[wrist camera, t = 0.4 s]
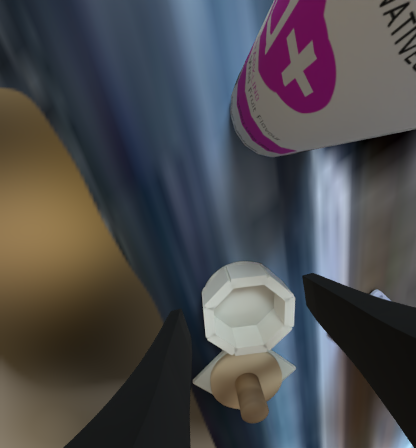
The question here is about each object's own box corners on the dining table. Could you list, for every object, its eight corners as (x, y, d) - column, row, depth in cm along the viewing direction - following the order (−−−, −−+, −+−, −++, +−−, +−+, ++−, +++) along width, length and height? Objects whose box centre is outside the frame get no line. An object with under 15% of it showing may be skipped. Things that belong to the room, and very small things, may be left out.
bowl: (294, 289, 23) (312, 310, 19) (242, 340, 24) (251, 367, 21) (239, 244, 21) (248, 258, 17) (186, 302, 22) (185, 325, 19)
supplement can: (227, 156, 18) (362, 89, 4) (231, 52, 16) (577, -1021, 2) (309, 159, 19) (699, 109, 4) (323, 59, 17) (1155, -667, 2)
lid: (293, 369, 25) (312, 404, 21) (246, 411, 26) (255, 452, 22) (243, 334, 23) (254, 367, 19) (195, 382, 24) (196, 422, 20)
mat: (294, 365, 25) (296, 368, 25) (245, 409, 27) (246, 413, 26) (242, 330, 23) (243, 332, 23) (192, 379, 25) (192, 383, 24)
